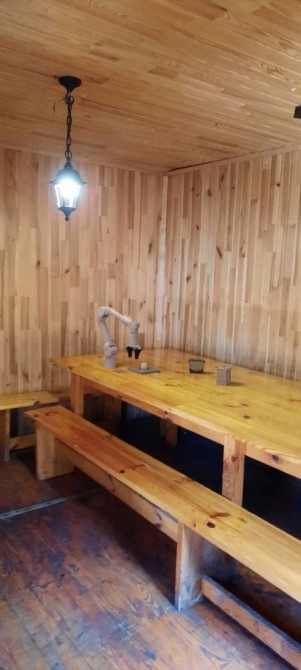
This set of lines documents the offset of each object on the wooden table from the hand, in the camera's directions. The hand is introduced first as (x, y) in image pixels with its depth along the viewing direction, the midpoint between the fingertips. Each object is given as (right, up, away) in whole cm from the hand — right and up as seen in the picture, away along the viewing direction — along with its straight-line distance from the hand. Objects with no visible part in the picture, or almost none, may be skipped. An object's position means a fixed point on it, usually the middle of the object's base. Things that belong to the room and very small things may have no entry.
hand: (133, 358), depth 335 cm
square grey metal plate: (-9, -10, -4) cm, 14 cm away
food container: (+44, -11, +5) cm, 45 cm away
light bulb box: (+58, -15, -25) cm, 65 cm away
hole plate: (+7, -10, -1) cm, 12 cm away
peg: (+7, -10, -1) cm, 12 cm away
